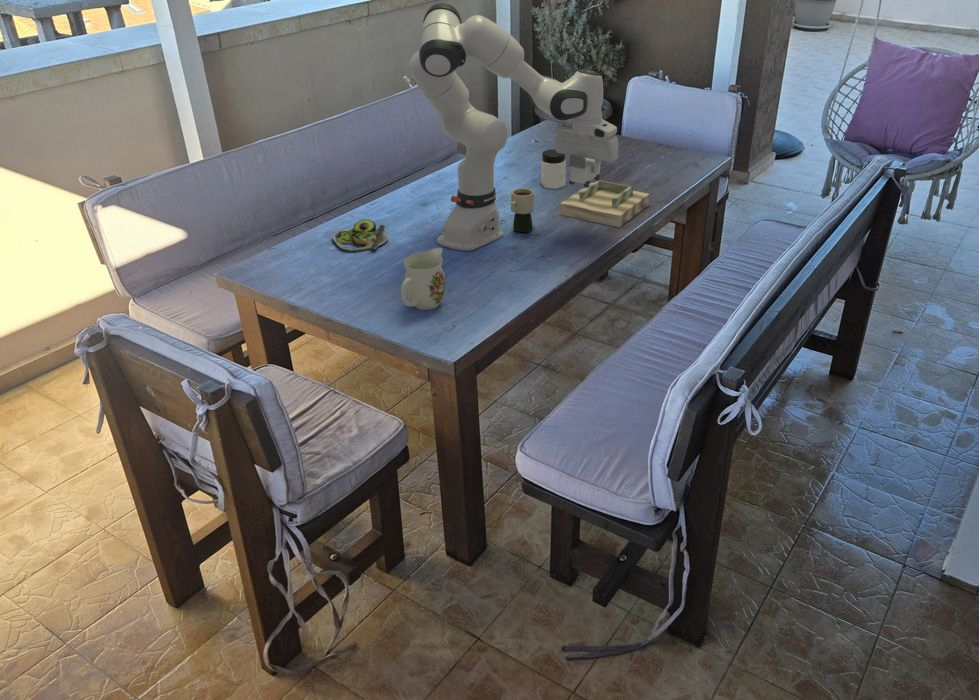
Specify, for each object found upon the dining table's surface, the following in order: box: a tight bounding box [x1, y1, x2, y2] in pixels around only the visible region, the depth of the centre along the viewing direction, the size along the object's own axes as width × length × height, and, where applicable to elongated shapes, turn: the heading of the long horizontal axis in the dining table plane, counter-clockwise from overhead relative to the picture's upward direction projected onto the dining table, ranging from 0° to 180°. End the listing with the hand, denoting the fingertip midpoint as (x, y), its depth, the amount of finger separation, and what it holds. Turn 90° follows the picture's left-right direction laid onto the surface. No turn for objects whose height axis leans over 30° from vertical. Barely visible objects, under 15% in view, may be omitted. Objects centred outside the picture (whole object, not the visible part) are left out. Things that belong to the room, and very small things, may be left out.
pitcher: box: [400, 247, 446, 311], centre depth 227 cm, size 11×18×14 cm, turn 147°
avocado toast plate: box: [331, 218, 389, 253], centre depth 268 cm, size 19×18×5 cm
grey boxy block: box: [568, 156, 601, 188], centre depth 258 cm, size 11×6×10 cm, turn 146°
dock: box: [559, 179, 650, 228], centre depth 283 cm, size 22×22×7 cm
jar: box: [540, 148, 567, 190], centre depth 303 cm, size 9×8×12 cm
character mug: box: [510, 187, 535, 233], centre depth 269 cm, size 11×7×13 cm, turn 139°
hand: (585, 171), depth 259 cm, fingers closed on grey boxy block, 5 cm apart
